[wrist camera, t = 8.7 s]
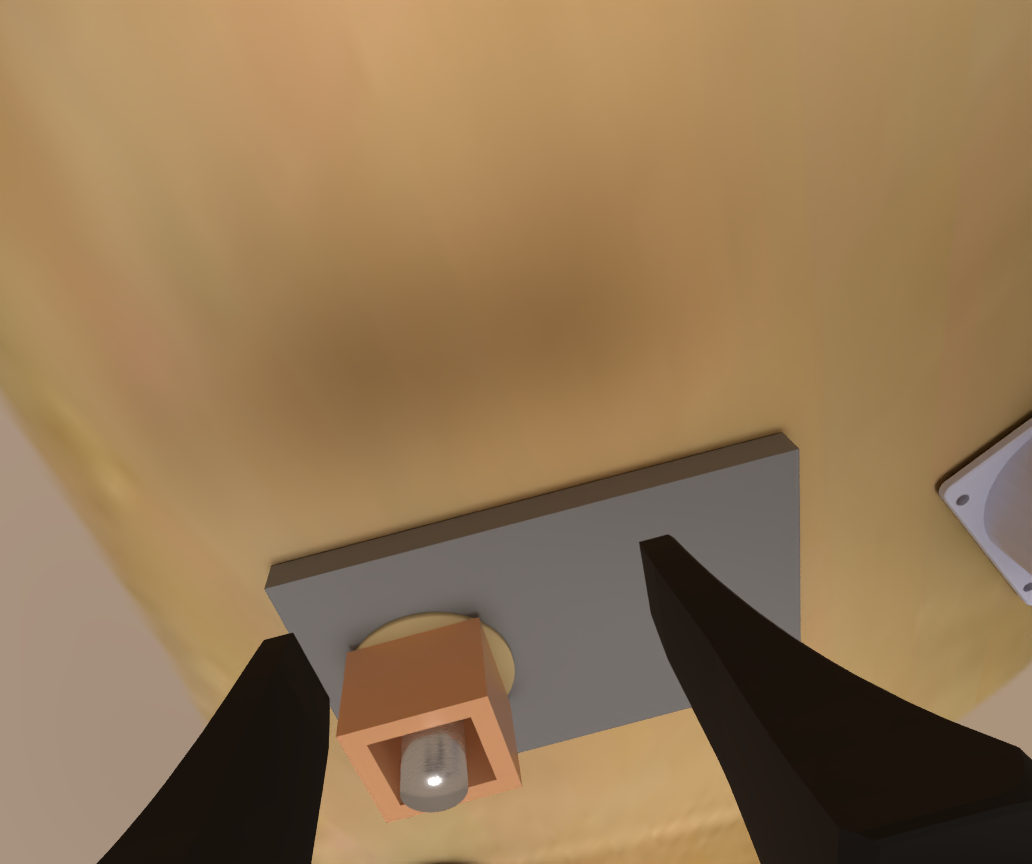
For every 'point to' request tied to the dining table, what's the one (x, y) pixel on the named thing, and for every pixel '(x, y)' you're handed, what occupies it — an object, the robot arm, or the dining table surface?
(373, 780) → the collar
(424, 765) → the steel post
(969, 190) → the dining table surface
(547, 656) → the seat plate
